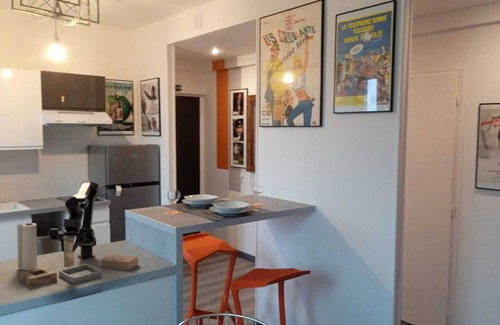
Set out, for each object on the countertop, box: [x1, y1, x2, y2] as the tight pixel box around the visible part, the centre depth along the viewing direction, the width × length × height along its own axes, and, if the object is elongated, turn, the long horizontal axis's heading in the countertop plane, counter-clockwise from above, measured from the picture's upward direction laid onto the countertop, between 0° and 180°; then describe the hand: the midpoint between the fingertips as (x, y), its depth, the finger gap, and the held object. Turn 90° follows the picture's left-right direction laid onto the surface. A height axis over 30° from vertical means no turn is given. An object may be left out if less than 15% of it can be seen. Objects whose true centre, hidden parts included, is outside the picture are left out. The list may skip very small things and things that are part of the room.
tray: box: [58, 263, 102, 285], centre depth 184 cm, size 13×13×2 cm
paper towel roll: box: [16, 222, 38, 271], centre depth 190 cm, size 7×6×21 cm
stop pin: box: [63, 235, 76, 268], centre depth 178 cm, size 5×5×13 cm
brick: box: [100, 253, 139, 271], centre depth 199 cm, size 17×8×5 cm, turn 76°
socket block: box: [19, 266, 58, 288], centre depth 177 cm, size 11×11×4 cm
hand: (68, 251), depth 176 cm, fingers closed on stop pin, 4 cm apart
